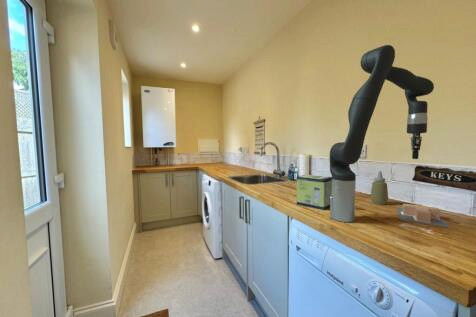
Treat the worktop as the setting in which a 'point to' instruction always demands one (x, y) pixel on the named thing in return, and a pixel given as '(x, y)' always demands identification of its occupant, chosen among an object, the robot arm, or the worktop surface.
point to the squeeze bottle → (379, 190)
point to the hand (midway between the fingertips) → (415, 158)
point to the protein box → (314, 191)
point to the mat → (413, 219)
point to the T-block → (421, 212)
